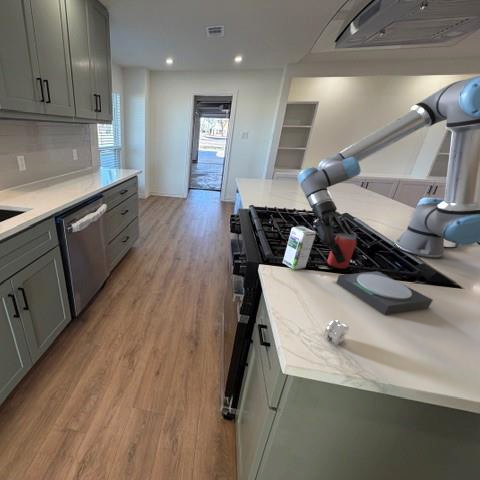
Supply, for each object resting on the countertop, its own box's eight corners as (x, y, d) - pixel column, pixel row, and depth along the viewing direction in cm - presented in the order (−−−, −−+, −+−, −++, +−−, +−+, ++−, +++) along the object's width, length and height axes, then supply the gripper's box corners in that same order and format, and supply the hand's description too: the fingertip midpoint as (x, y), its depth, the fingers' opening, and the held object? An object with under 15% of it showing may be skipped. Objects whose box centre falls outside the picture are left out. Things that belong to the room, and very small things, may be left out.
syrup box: (281, 262, 96) (290, 227, 90) (294, 260, 98) (303, 225, 92) (293, 270, 91) (303, 233, 85) (306, 268, 93) (317, 231, 87)
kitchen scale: (374, 278, 87) (378, 269, 86) (428, 308, 73) (434, 298, 72) (336, 283, 84) (339, 273, 83) (384, 314, 70) (389, 304, 68)
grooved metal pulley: (333, 347, 58) (340, 331, 56) (320, 339, 61) (326, 323, 59) (344, 339, 61) (351, 323, 59) (331, 331, 63) (337, 315, 61)
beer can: (350, 270, 91) (362, 240, 87) (330, 268, 92) (341, 238, 88) (342, 262, 97) (352, 233, 92) (323, 260, 98) (333, 231, 94)
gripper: (332, 207, 104) (358, 260, 97) (295, 211, 98) (320, 267, 91) (348, 198, 98) (378, 254, 90) (310, 201, 91) (338, 261, 84)
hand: (349, 260), depth 90 cm, fingers closed on beer can, 6 cm apart
